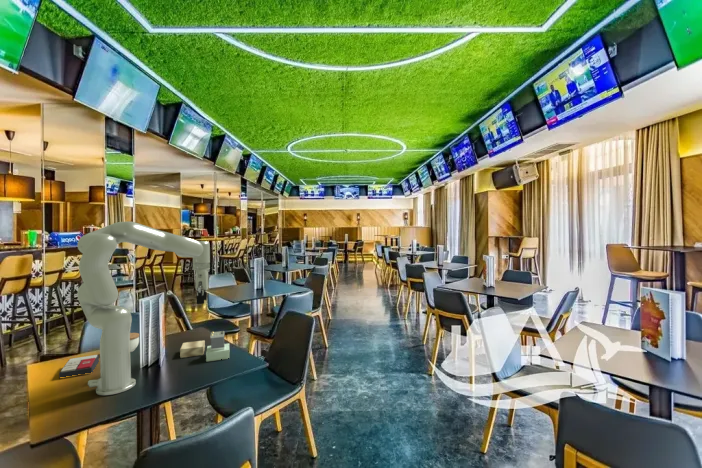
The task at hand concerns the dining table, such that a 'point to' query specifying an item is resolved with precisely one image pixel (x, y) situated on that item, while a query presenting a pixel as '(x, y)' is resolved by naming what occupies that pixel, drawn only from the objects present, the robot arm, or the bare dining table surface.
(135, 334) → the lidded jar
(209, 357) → the stand
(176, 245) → the robot arm
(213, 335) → the block
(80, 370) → the red and grey box
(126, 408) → the dining table surface
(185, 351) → the stand
